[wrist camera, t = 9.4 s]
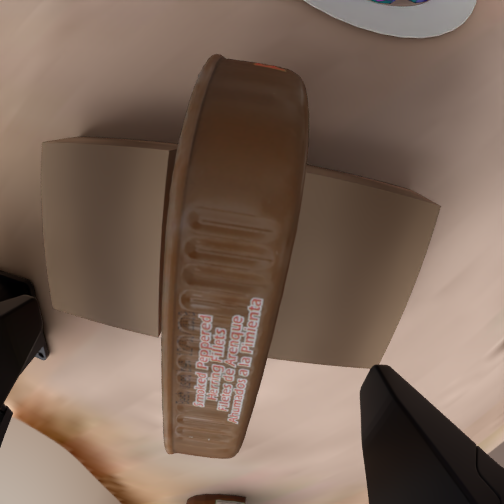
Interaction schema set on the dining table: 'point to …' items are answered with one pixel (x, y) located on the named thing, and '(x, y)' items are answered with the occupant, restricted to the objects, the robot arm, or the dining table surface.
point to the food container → (216, 499)
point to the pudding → (400, 15)
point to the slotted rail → (301, 263)
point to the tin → (228, 248)
